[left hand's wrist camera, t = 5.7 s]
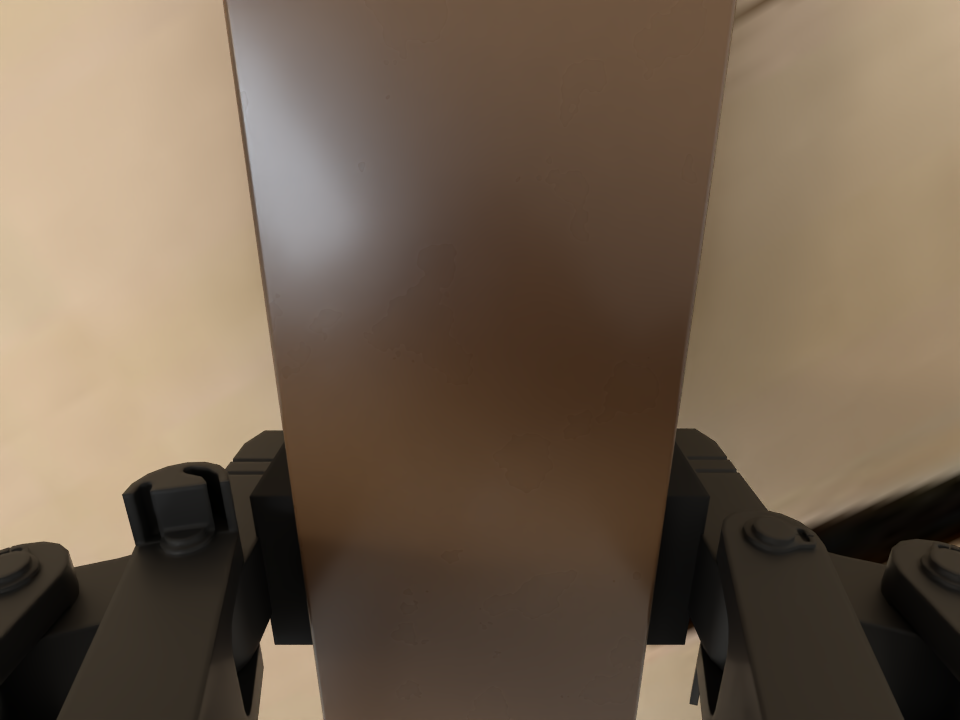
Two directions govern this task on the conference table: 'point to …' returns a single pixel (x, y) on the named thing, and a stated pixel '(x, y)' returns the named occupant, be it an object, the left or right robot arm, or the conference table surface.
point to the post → (479, 330)
